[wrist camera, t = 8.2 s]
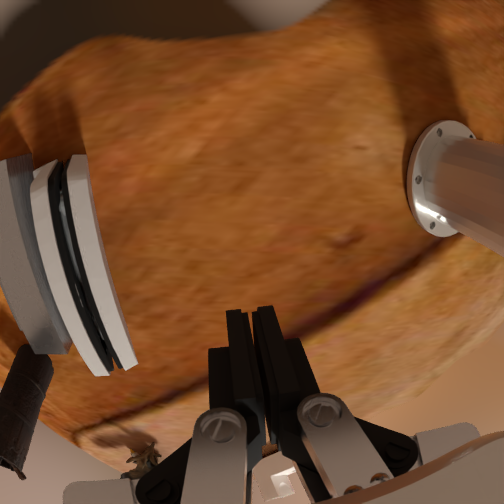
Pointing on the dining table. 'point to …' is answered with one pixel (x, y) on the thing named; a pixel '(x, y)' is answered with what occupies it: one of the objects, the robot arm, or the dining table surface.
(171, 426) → the dining table surface
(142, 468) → the brown animal figurine
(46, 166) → the hinge
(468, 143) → the robot arm
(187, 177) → the dining table surface
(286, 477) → the bracket
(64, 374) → the dining table surface
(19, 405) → the butter churn
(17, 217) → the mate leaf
